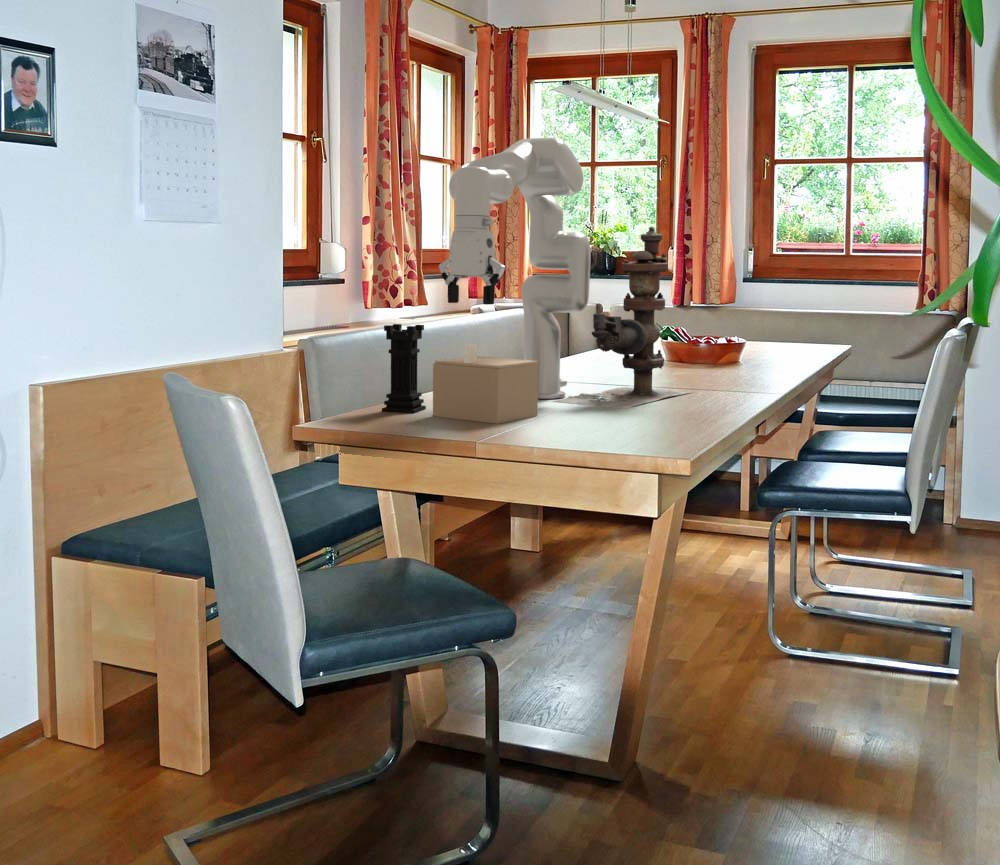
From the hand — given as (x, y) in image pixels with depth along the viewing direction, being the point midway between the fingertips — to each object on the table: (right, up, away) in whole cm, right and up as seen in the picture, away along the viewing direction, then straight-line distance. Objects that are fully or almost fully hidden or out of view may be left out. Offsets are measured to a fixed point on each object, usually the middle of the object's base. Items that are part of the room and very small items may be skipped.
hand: (470, 303), depth 246 cm
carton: (+3, -25, +9) cm, 27 cm away
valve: (+40, -19, +48) cm, 66 cm away
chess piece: (-16, -24, +16) cm, 33 cm away
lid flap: (+3, -13, +7) cm, 15 cm away
